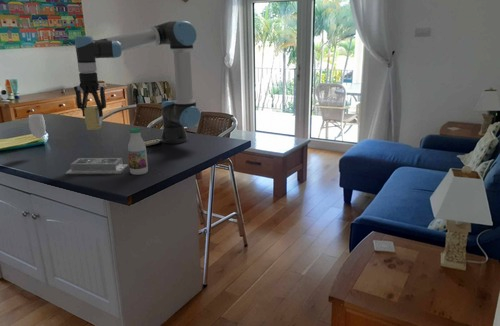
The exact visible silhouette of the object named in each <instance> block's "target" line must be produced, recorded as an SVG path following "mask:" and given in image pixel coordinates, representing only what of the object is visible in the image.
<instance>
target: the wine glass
mask: <svg viewBox="0 0 500 326" xmlns="http://www.w3.org/2000/svg"><path fill="white" fill-rule="evenodd" d="M45 122H46V121H45V118H44V115H43V114H42V113H35V114H34V113H33V114H29V115H28V126H29V130H30V133H31V135H32V136H33V137H35V138H37V139H41V138H43V137H44V136H45V135H46V123H45Z"/></svg>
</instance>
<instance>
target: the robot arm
mask: <svg viewBox="0 0 500 326" xmlns="http://www.w3.org/2000/svg"><path fill="white" fill-rule="evenodd" d="M197 35H198V34H197V29H196V28H195V26H194V25H193V24H192V23H191V22H189V21H186V20H175V21H172V20H171V21H167V22H163V23H160V24H158V25H153V26H151V27H150V28H148V29H144V30H143V29H142V30H139V31H135V32H130V33H125V34H120V35H115V36H110V37H106V38H105V37H104V38H100V39H94V37H93V36H92V35H77V36H75V38H74V44H75V46H74V47H75V53H76V59H77V68H78V69H77V70H78V72H79V73H78V75H79V85H76V86H74V87H73V88H74V91H75V97H76V98H75V99H76V106H77V109H79V110H81V113H82V117H83V118H84V122H85V123H86V118H85V110H84V108H85V107H88V106H87V105H88V97H89V95H92V97H93V99H94V101H95V106H97V108H98V110H97V119H98V124H103V121H102V120H103V119H102V118H103V115H104V112H103V110H104V109H106V108H107V101H106V93H105V91H106V86H105V85H100V84H99V81H98V73H97V64H96V62H97V60H96V59H115V58H120V57H121V56H122V52H124V51H129V50H134V49H138V48H143V47H147V46H152V45H154V46H160V45H169V50H170V51H172V53H173V65H174V78H175V80H174V81H175V95H176V99H174V100H165V101H162V102H161V114H162V115H161V118H162V131H161V136H160V141H162V142H161V143H163V144H169V145H170V144H172V145H173V144H175V145H176V144H181V143H185V142H187V141H188V140H189V139H188V137H189V136H188V134H187V131H186V128H189V129H190V128H193V127H196V126H197V125H198V123H200V120H201V114H202V113H201V111H200V109H199V107H197V102H196V101H197V100H195V99H194V98H193V97H194V95H193V93H194V92H193V79H192V75H193V74H192V63H191V61H192V58H191V52H192V50H193V49H194V45H193V44H194V43H196V42H195V41H196V40H197ZM81 90H82V91H83V92H82V94H81ZM98 90H99V93H98Z"/></svg>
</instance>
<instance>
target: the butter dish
mask: <svg viewBox="0 0 500 326" xmlns="http://www.w3.org/2000/svg"><path fill="white" fill-rule="evenodd" d="M127 167H129V163H127V164H126V163H124V164H123V158H122V157H88V158H87V157H78V158H76V159H75V160H74V161H73V162H72V163H70V169H68V170H66V172H65V175H120V174H122V172H123V171H124V170H125V169H127Z"/></svg>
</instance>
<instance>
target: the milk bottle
mask: <svg viewBox="0 0 500 326" xmlns="http://www.w3.org/2000/svg"><path fill="white" fill-rule="evenodd" d="M129 135H130V138H129V141H128V145H127V156H128V167H129V172H130V175H134V176H139V175H141V176H142V175H145V174H147V173H148V172H149V166H148V155H147V147H146V143H145V141H144V140H143V138H142V136H141V135H142V131H141V128H140V127H131V128H129Z"/></svg>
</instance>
